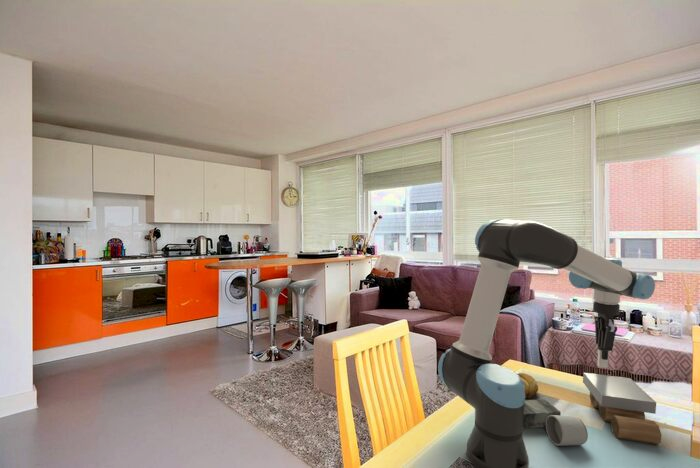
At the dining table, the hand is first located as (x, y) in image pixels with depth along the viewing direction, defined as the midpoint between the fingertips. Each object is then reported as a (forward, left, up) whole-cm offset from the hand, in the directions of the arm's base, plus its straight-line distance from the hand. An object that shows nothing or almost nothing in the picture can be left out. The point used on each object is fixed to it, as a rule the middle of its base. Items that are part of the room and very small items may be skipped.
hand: (602, 366), depth 127 cm
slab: (0, -12, -5) cm, 13 cm away
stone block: (-28, -24, -11) cm, 38 cm away
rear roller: (0, -8, -11) cm, 13 cm away
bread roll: (-27, -7, -11) cm, 30 cm away
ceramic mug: (-21, -32, -11) cm, 40 cm away
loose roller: (0, -25, -11) cm, 27 cm away
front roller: (0, -16, -11) cm, 19 cm away
